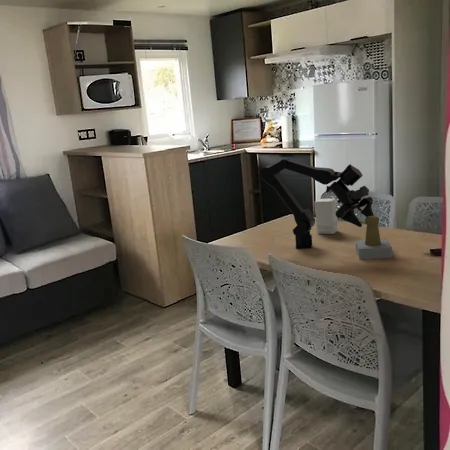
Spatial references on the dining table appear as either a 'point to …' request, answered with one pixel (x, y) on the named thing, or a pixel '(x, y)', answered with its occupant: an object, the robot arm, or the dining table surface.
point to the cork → (372, 231)
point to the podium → (373, 250)
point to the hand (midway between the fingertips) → (368, 223)
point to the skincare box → (326, 216)
